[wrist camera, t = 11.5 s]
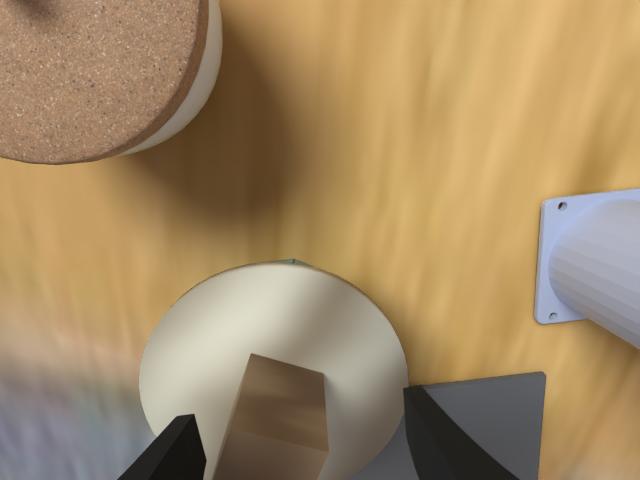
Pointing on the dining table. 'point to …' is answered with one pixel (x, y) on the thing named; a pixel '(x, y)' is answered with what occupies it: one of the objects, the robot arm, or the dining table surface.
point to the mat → (478, 425)
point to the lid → (277, 373)
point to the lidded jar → (102, 75)
